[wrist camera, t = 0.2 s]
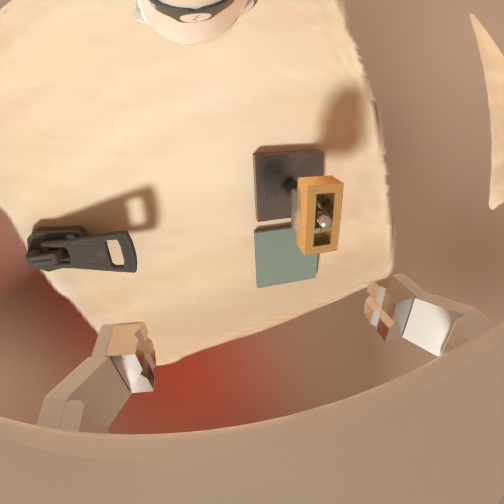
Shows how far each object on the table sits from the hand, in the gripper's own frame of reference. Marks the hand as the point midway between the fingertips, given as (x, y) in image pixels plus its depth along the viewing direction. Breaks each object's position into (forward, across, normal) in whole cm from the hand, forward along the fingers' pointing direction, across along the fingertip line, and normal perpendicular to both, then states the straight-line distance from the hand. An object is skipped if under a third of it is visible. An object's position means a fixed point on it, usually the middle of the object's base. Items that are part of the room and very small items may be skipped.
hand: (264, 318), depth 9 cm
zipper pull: (+40, +26, +10) cm, 49 cm away
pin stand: (+40, -14, +5) cm, 42 cm away
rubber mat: (+41, -14, +20) cm, 48 cm away
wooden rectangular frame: (+28, -14, +6) cm, 31 cm away
